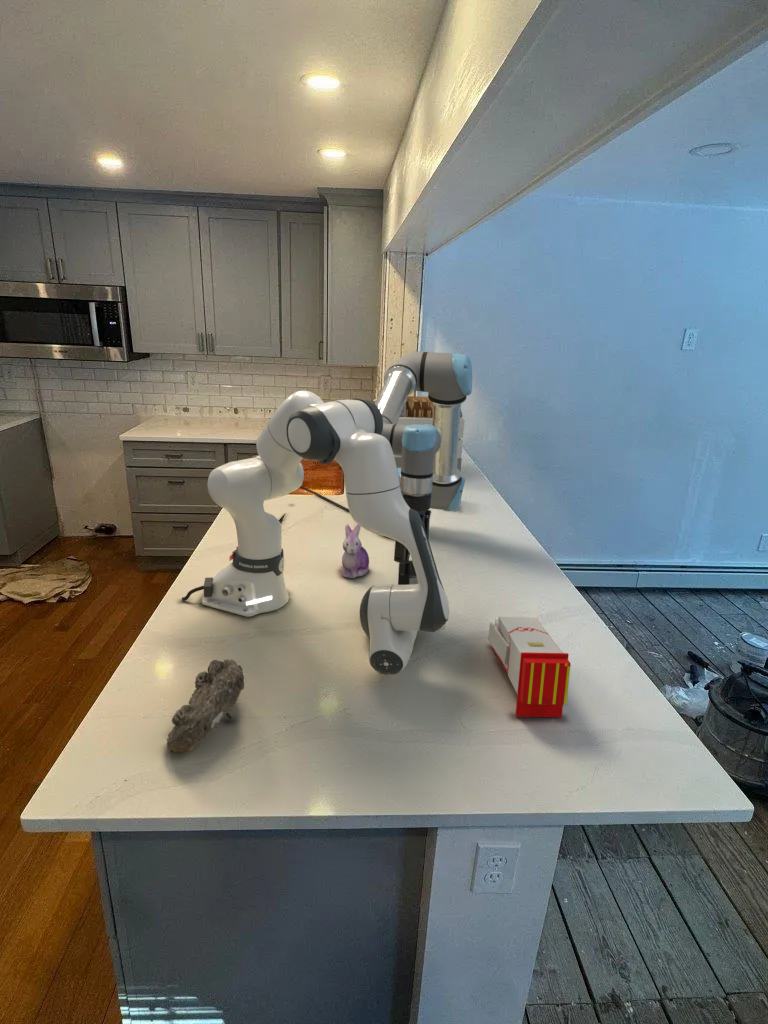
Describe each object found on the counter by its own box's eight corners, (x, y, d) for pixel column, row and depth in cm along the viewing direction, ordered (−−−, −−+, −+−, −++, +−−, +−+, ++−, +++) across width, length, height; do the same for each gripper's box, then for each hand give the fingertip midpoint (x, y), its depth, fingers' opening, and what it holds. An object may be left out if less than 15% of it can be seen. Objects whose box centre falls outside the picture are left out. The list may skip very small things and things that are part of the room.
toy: (534, 602, 136) (579, 659, 107) (529, 653, 139) (572, 723, 110) (484, 601, 136) (516, 658, 107) (480, 652, 139) (510, 722, 109)
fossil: (192, 660, 117) (244, 628, 112) (224, 691, 120) (276, 661, 115) (142, 746, 98) (202, 712, 93) (182, 779, 101) (242, 748, 96)
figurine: (347, 581, 163) (348, 533, 158) (333, 567, 172) (334, 521, 166) (376, 576, 167) (378, 528, 162) (361, 562, 176) (363, 517, 171)
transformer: (382, 463, 289) (386, 382, 275) (445, 464, 293) (451, 384, 279) (390, 482, 257) (394, 392, 243) (460, 483, 261) (468, 394, 247)
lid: (393, 569, 140) (394, 563, 140) (411, 564, 144) (411, 558, 143) (409, 578, 136) (410, 572, 136) (427, 572, 140) (427, 566, 139)
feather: (292, 507, 224) (294, 503, 223) (275, 531, 197) (278, 527, 197) (288, 505, 224) (291, 501, 223) (271, 528, 197) (273, 524, 197)
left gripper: (445, 619, 128) (451, 591, 140) (357, 606, 131) (370, 580, 144) (443, 643, 130) (449, 613, 143) (356, 630, 133) (369, 602, 146)
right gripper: (420, 480, 142) (414, 563, 150) (381, 498, 127) (377, 590, 135) (447, 485, 139) (440, 571, 147) (410, 505, 124) (404, 599, 131)
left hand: (409, 596), depth 143 cm, fingers closed on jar, 5 cm apart
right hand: (409, 580), depth 141 cm, fingers closed on lid, 6 cm apart
